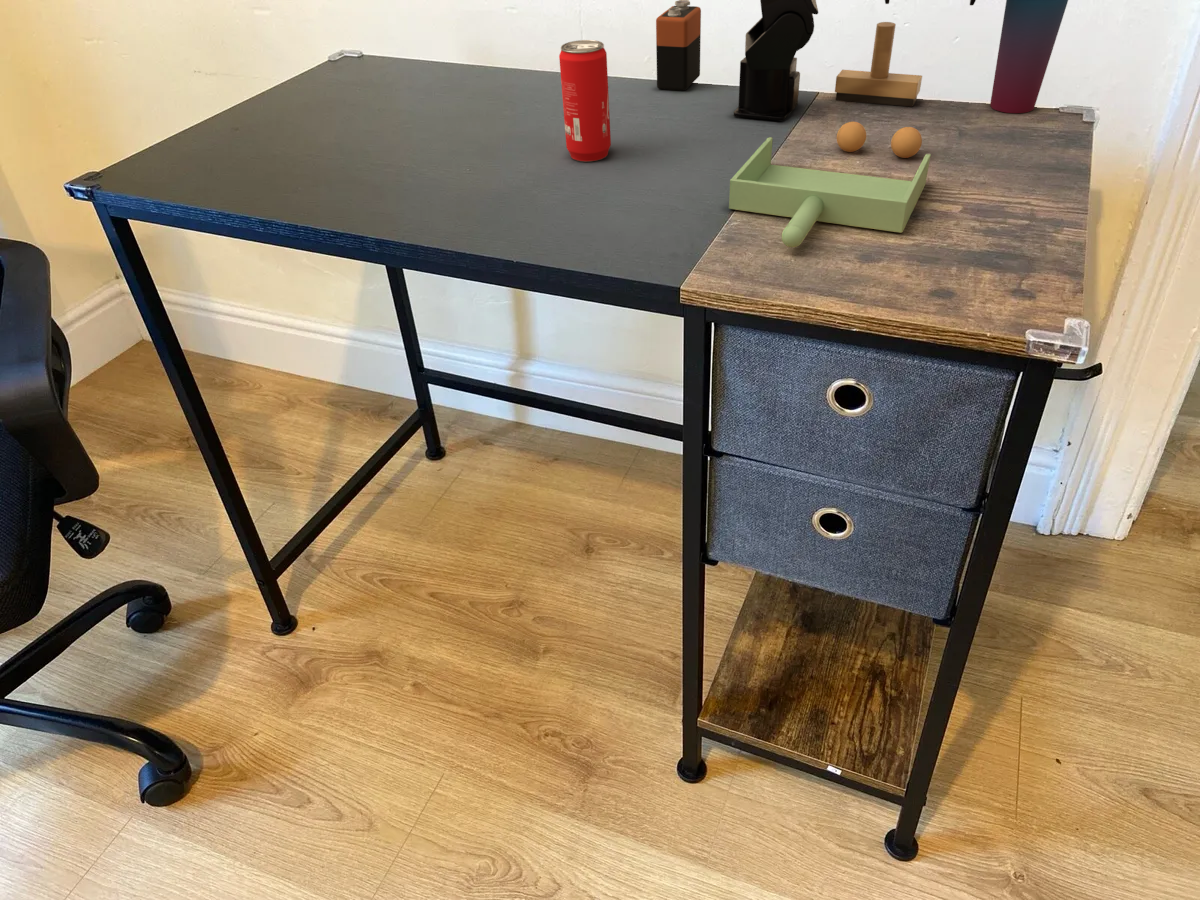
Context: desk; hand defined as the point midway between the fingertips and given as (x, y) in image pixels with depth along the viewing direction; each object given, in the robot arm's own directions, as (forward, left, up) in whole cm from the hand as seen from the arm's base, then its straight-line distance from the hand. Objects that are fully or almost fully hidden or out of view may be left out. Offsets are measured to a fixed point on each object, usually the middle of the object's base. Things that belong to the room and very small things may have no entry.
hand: (928, 3), depth 101 cm
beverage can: (-32, -25, -12) cm, 43 cm away
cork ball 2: (+2, -15, -10) cm, 19 cm away
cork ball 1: (-4, -15, -10) cm, 19 cm away
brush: (-5, +3, -12) cm, 13 cm away
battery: (-32, +3, -12) cm, 34 cm away
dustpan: (-3, -33, -12) cm, 35 cm away
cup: (+11, +5, -12) cm, 17 cm away
